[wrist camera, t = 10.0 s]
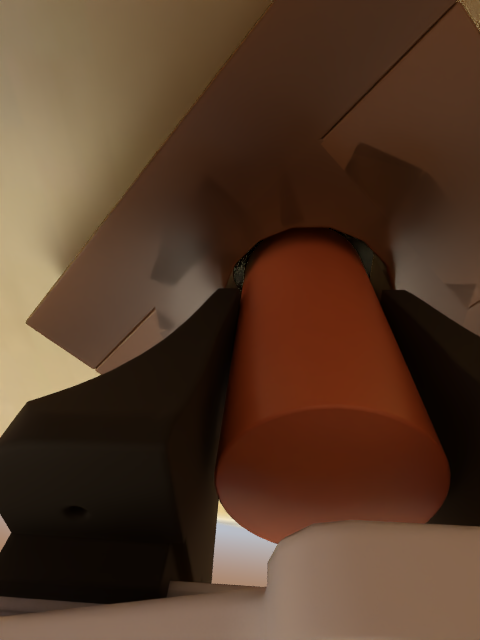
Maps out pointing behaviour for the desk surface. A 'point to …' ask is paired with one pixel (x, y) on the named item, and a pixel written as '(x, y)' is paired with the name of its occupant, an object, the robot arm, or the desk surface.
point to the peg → (321, 399)
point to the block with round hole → (296, 173)
